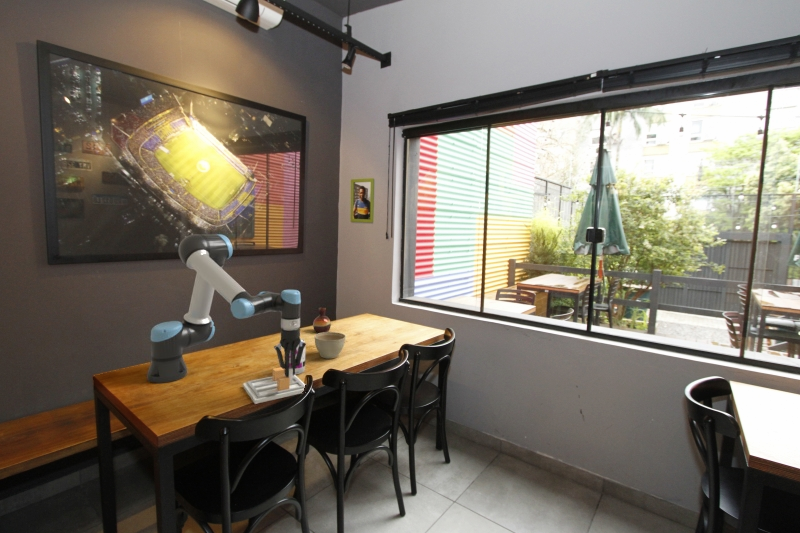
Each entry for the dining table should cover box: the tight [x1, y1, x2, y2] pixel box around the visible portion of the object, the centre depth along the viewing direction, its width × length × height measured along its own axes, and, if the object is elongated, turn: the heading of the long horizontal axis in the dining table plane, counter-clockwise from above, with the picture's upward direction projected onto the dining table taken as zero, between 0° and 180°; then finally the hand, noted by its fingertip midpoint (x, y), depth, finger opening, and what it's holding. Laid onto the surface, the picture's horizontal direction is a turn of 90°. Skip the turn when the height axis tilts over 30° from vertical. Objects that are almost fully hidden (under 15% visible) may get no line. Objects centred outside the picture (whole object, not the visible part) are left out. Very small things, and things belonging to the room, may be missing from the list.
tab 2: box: [277, 376, 290, 391], centre depth 158 cm, size 4×3×5 cm
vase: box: [312, 307, 332, 334], centre depth 247 cm, size 11×11×15 cm
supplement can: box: [289, 338, 306, 375], centre depth 180 cm, size 8×8×15 cm
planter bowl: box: [314, 331, 346, 359], centre depth 204 cm, size 16×16×11 cm
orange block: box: [272, 366, 285, 381], centre depth 167 cm, size 4×3×5 cm
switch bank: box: [242, 373, 306, 405], centre depth 162 cm, size 22×18×2 cm
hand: (289, 383), depth 160 cm, fingers closed
